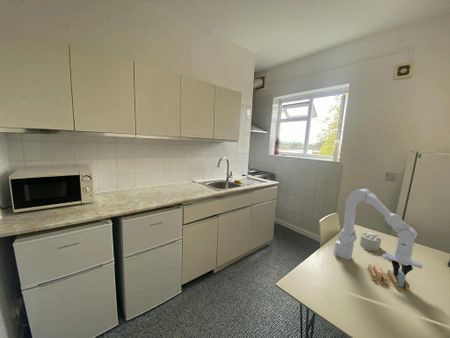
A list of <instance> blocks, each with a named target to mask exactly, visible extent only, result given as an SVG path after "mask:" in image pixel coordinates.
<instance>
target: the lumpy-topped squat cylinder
mask: <svg viewBox="0 0 450 338" xmlns="http://www.w3.org/2000/svg"><path fill="white" fill-rule="evenodd" d="M381 243H382V237H381V236H380V235H378V234H376V233H372V232H370V231H369V232H368V231H363V232H362V233H361V234H360V239H359V246H360V247H362V249H365V250H368V251H372V252H373V251H375V252H377V251H379V250H380V249H381Z"/></svg>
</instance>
